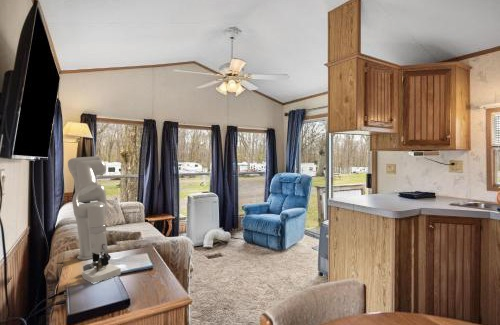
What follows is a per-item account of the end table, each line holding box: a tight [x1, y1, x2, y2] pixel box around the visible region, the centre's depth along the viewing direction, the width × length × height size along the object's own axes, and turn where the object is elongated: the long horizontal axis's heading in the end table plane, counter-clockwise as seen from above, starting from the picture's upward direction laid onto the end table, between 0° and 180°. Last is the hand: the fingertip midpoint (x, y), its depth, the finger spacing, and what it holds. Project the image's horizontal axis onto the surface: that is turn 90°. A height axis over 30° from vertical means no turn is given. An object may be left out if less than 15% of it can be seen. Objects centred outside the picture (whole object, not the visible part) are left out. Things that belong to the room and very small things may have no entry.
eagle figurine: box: [89, 253, 111, 272], centre depth 148 cm, size 8×7×9 cm
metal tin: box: [82, 263, 95, 272], centre depth 152 cm, size 5×5×4 cm
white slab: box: [81, 263, 122, 283], centre depth 147 cm, size 13×13×3 cm
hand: (100, 263), depth 147 cm, fingers open, 9 cm apart
